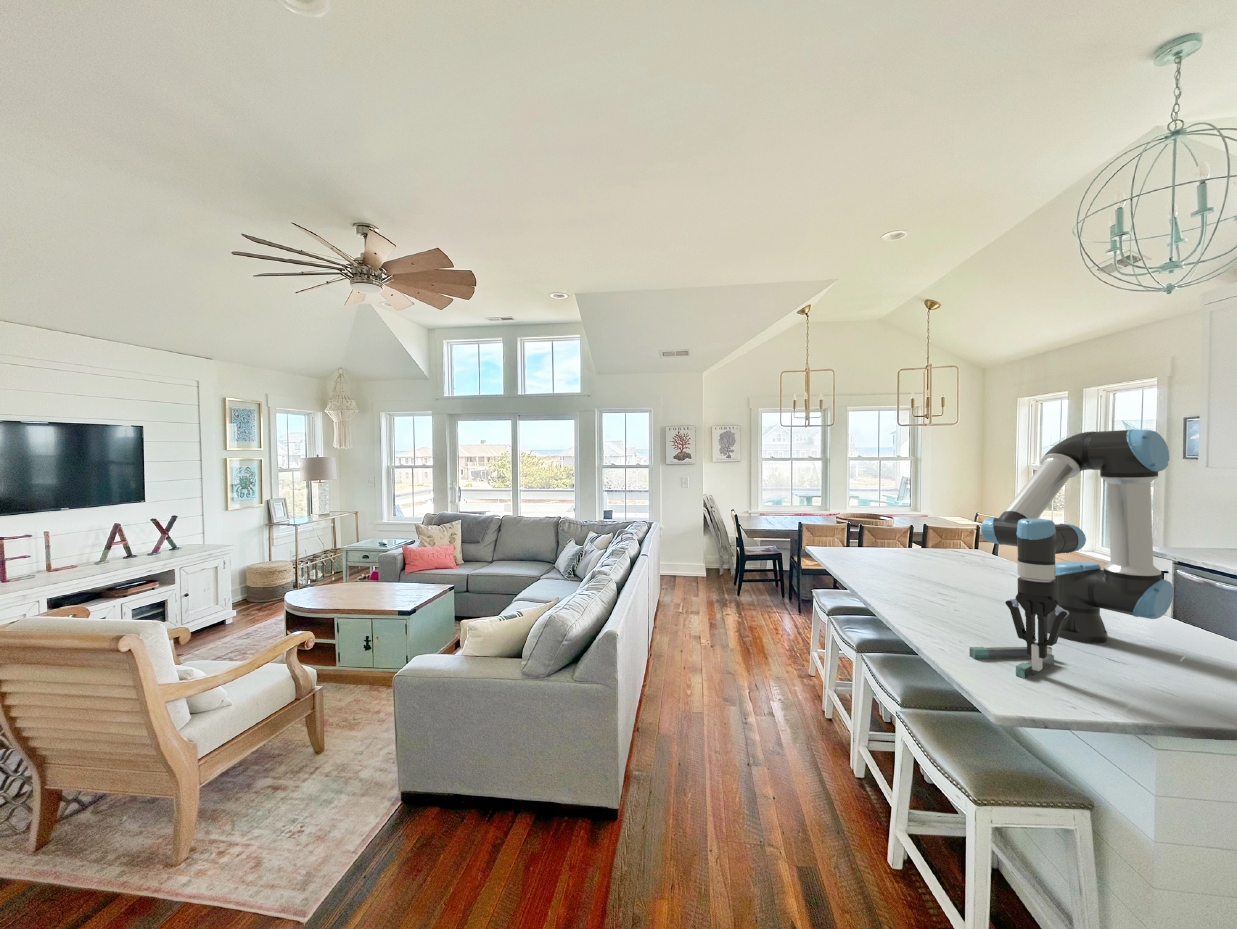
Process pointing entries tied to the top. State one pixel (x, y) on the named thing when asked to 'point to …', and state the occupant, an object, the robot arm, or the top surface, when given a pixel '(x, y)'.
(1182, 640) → the top surface
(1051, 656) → the tongs free arm
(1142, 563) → the robot arm
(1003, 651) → the arm
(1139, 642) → the top surface
